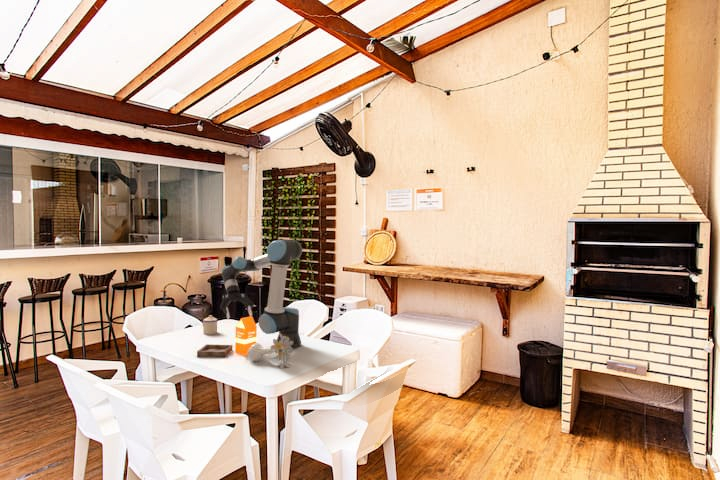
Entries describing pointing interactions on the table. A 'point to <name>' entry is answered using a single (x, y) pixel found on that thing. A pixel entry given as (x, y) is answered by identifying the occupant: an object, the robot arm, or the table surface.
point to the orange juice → (245, 335)
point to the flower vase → (273, 350)
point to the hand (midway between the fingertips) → (240, 316)
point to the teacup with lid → (210, 325)
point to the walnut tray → (214, 351)
